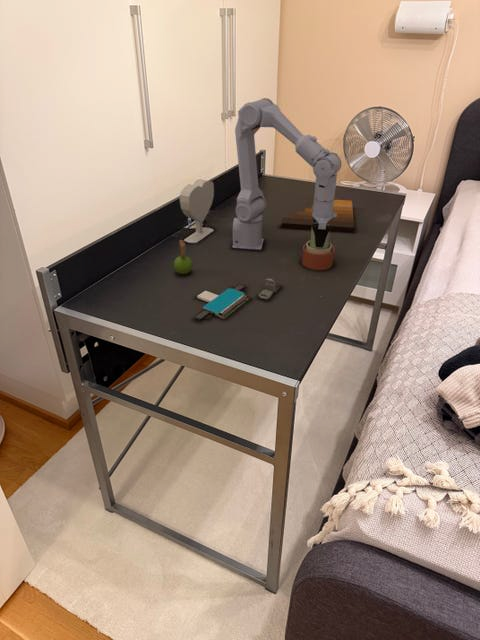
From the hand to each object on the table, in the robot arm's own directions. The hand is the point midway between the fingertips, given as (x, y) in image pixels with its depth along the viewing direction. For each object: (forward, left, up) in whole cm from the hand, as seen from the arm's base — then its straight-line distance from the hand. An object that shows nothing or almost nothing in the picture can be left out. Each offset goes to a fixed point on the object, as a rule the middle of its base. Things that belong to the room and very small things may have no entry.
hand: (319, 242), depth 142 cm
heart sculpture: (-40, +15, -7) cm, 44 cm away
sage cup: (0, 0, -2) cm, 2 cm away
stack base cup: (0, 0, -7) cm, 7 cm away
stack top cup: (0, 0, -7) cm, 7 cm away
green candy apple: (-39, -13, -7) cm, 42 cm away
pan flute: (0, +37, -7) cm, 38 cm away
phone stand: (-26, -27, -7) cm, 38 cm away
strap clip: (-13, -20, -7) cm, 25 cm away
